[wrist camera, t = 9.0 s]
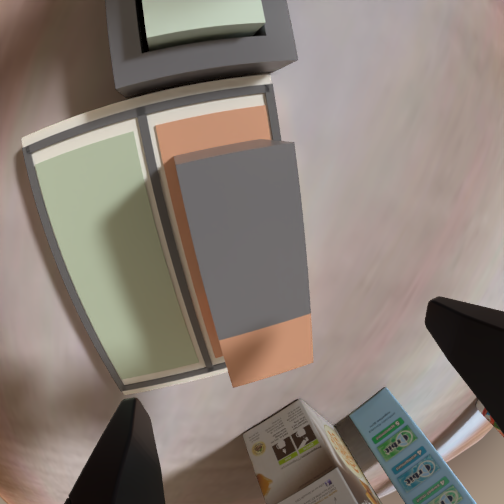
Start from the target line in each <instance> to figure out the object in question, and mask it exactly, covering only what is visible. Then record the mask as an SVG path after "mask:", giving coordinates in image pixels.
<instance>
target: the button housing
mask: <svg viewBox="0 0 504 504" xmlns="http://www.w3.org/2000/svg"><path fill="white" fill-rule="evenodd" d="M261 2H262V7H263V12H264V17H265V22H266V23H265V24H264V25H263V26H262V27H261V28H260V29H259V30H258V31H257V32H256V33H255V34H254V35H253V36H252V37H239V38H229V39H220V40H212V41H204V42H198V43H191V44H185V45H180V46H174V47H169V48H164V49H159V50H155V51H150V52H146V53H144V49H143V42H142V35H141V27H140V19H139V11H138V2H137V0H105V5H106V17H107V27H108V37H109V45H110V53H111V61H112V68H113V75H114V82H115V88H116V90H117V91H119V92H120V93H121V94H122V95H123V96H125V97H129V96H133V95H137V94H141V93H145V92H149V91H153V90H157V89H161V88H166V87H170V86H175V85H180V84H185V83H190V82H196V81H201V80H207V79H214V78H220V77H227V76H235V75H243V74H252V73H262V72H274V71H277V70H279V69H281V68H283V67H285V66H287V65H289V64H291V63H293V62H295V61H297V60H298V56H297V51H296V46H295V40H294V35H293V30H292V25H291V20H290V15H289V11H288V6H287V1H286V0H261Z"/></svg>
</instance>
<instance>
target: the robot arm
mask: <svg viewBox="0 0 504 504" xmlns="http://www.w3.org/2000/svg"><path fill="white" fill-rule="evenodd" d="M425 325H426V328H427V329H428V331H429V332H430V334H431V335H432V337H433V338H434V340H435V341H436V343H437V344H438V346H439V347H440V349H441V350H442V352H443V353H444V355H445V356H446V358H447V359H448V361H449V362H450V363H451V364H452V366H453V367H454V368H455V370H456V371H457V372H458V373H459V375H460V376H461V377H462V378H463V380H464V381H465V382H466V384H467V385H468V386H469V387H470V389H471V390H472V391H473V393H474V394H475V395H476V397H477V398H478V399H479V401H480V402H481V403H482V405H483V406H484V407H485V409H486V410H487V412H488V413H489V414H490V416H491V417H492V418H493V420H494V421H495V423H496V424H497V425H498V427H499V428H500V430H501V431H502V433H503V434H504V312H503V311H499V310H495V309H491V308H487V307H482V306H478V305H474V304H470V303H466V302H461V301H457V300H453V299H449V298H445V297H440V296H439V297H436V298H434V299H432V300H430V301H429V303H428V306H427V312H426V317H425ZM64 504H165V498H164V490H163V482H162V473H161V467H160V462H159V458H158V453H157V449H156V444H155V439H154V434H153V429H152V423H151V419H150V417H149V415H148V413H147V412H146V410H145V409H144V407H143V405H142V404H141V402H140V401H139V399H137V398H129V399H124V400H123V401H122V402H121V403H120V405H119V407H118V408H117V410H116V412H115V413H114V415H113V417H112V419H111V420H110V422H109V424H108V426H107V427H106V429H105V431H104V433H103V434H102V436H101V438H100V440H99V441H98V443H97V445H96V447H95V448H94V450H93V452H92V454H91V456H90V457H89V459H88V461H87V463H86V465H85V466H84V468H83V470H82V472H81V474H80V476H79V477H78V479H77V481H76V483H75V485H74V487H73V488H72V490H71V492H70V494H69V498H67V499H66V501H65V503H64Z"/></svg>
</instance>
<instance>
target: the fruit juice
mask: <svg viewBox="0 0 504 504" xmlns="http://www.w3.org/2000/svg"><path fill="white" fill-rule="evenodd" d="M476 407H477V409H478V410H479V412H480V413H481V414H482V415H483V416H484V417H485V418H486V419H487V420H488V421H489V422H490V423H491V424H492V425H493V426H494V427H495V428H496V429H497V430H498V431H499V432H500V434H501V435H502V436H503V437H504V434H503V433H502V431H501V430H500V428H499V427H498V425H497V424H496V423H495V421H494V420H493V418H492V417H491V416H490V414H489V413H488V412H487V410H486V409H485V407H484V406H483V405H482V403H481V402H480V401H479V399H478V401H477V404H476Z"/></svg>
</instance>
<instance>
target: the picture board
mask: <svg viewBox="0 0 504 504" xmlns="http://www.w3.org/2000/svg"><path fill="white" fill-rule="evenodd" d="M257 139H267V140H277V141H281V135H280V128H279V121H278V115H277V108H276V102H275V96H274V90H273V84H272V83H271V77H270V74H266V75H255V76H246V77H238V78H230V79H223V80H217V81H210V82H204V83H198V84H193V85H188V86H183V87H178V88H173V89H168V90H164V91H159V92H155V93H151V94H147V95H143V96H139V97H135V98H131V99H128V100H124V101H121V102H117V103H114V104H110V105H107V106H104V107H101V108H98V109H94V110H91V111H88V112H86V113H83V114H80V115H77V116H74V117H71V118H69V119H66V120H63V121H61V122H58V123H56V124H53V125H50V126H48V127H46V128H43V129H41V130H38V131H36V132H34V133H31V134H29V135H27V136H25V137H22V138H21V140H22V145H23V148H22V151H23V155H24V160H25V164H26V169H27V173H28V177H29V181H30V185H31V188H32V192H33V196H34V199H35V203H36V206H37V209H38V213H39V216H40V219H41V222H42V225H43V228H44V231H45V234H46V237H47V240H48V243H49V245H50V248H51V251H52V254H53V256H54V259H55V261H56V264H57V267H58V269H59V272H60V274H61V276H62V279H63V281H64V284H65V286H66V288H67V291H68V293H69V295H70V297H71V300H72V302H73V304H74V306H75V308H76V310H77V312H78V315H79V317H80V319H81V321H82V323H83V325H84V327H85V329H86V331H87V333H88V335H89V337H90V338H91V340H92V342H93V344H94V346H95V348H96V350H97V352H98V353H99V355H100V357H101V359H102V360H103V362H104V364H105V366H106V367H107V369H108V371H109V373H110V374H111V376H112V378H113V379H114V381H115V383H116V384H117V386H118V387H119V389H120V391H121V392H123V394H124V395H129V394H134V393H139V392H145V391H150V390H155V389H159V388H164V387H169V386H173V385H178V384H182V383H186V382H190V381H195V380H199V379H203V378H207V377H211V376H214V375H218V374H222V373H226V372H228V370H227V366H226V363H225V360H224V357H223V353H222V350H221V346H220V343H219V340H218V336H217V333H216V329H215V326H214V322H213V318H212V315H211V311H210V308H209V304H208V300H207V296H206V293H205V289H204V285H203V281H202V277H201V274H200V270H199V266H198V262H197V258H196V254H195V250H194V246H193V241H192V237H191V233H190V229H189V225H188V220H187V216H186V212H185V207H184V203H183V198H182V194H181V189H180V185H179V180H178V175H177V171H176V166H175V161H174V156H176V155H181V154H185V153H189V152H194V151H199V150H203V149H208V148H213V147H218V146H223V145H228V144H234V143H239V142H245V141H251V140H257Z"/></svg>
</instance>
